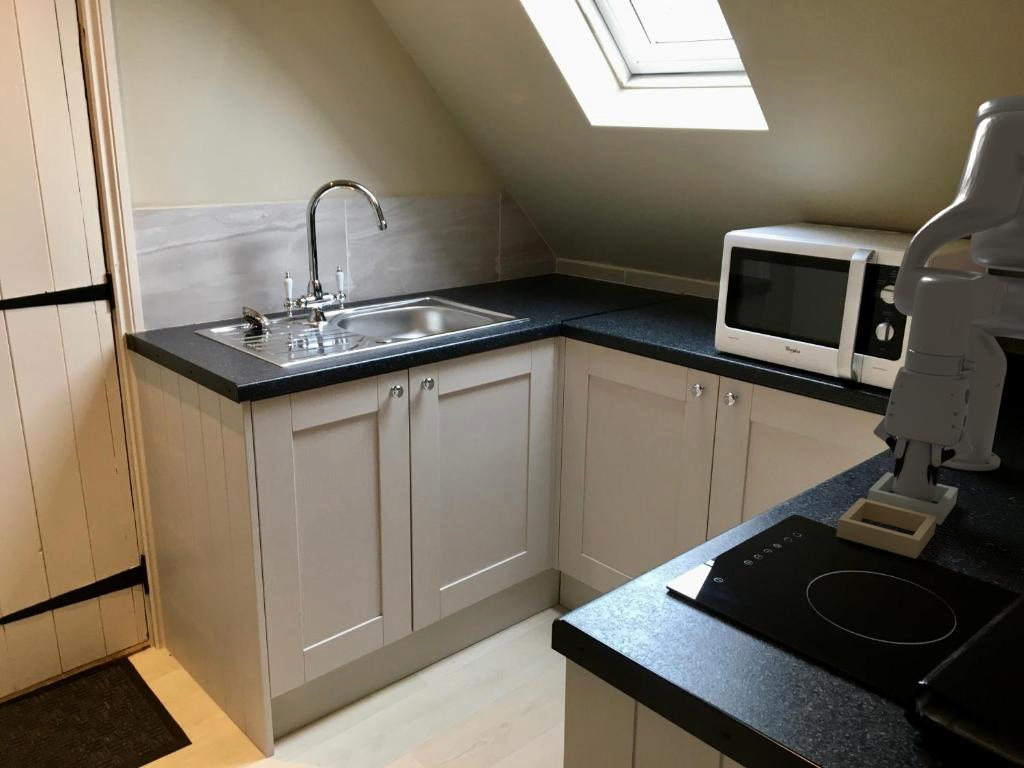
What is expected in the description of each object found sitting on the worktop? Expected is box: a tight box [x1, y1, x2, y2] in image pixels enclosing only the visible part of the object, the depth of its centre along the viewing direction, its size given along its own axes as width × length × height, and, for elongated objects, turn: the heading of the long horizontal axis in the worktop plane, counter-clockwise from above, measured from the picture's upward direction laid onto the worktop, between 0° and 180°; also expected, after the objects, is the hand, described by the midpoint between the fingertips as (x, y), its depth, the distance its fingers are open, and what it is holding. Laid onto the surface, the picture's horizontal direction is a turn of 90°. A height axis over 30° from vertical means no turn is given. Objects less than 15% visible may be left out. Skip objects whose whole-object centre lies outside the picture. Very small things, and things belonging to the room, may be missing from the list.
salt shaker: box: [892, 435, 936, 503], centre depth 124 cm, size 6×6×13 cm
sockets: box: [836, 471, 959, 559], centre depth 120 cm, size 24×10×2 cm, turn 142°
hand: (914, 484), depth 125 cm, fingers closed on salt shaker, 3 cm apart
